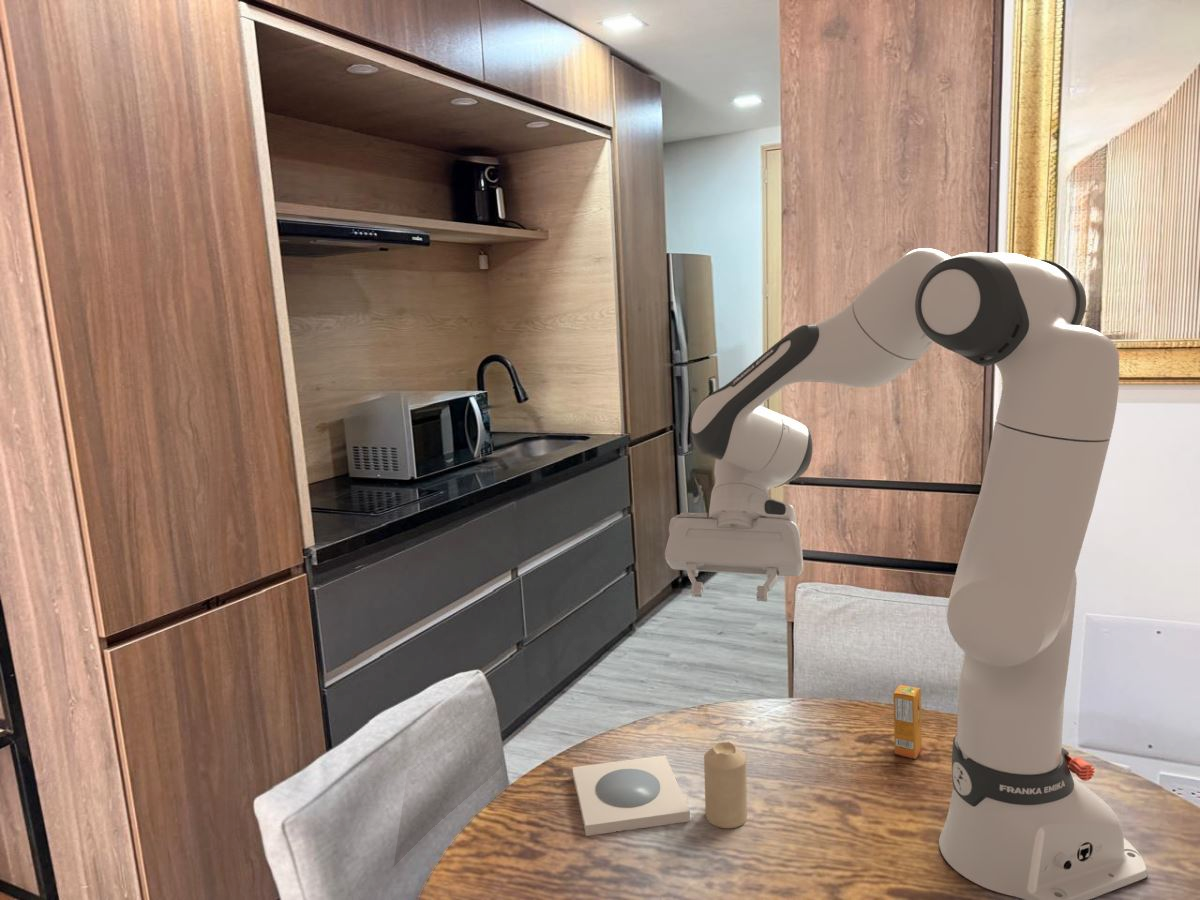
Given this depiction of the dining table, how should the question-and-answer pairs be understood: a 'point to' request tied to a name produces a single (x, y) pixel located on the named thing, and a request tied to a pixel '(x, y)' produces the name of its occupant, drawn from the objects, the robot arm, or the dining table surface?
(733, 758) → the candle
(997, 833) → the robot arm
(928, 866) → the dining table surface
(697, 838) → the dining table surface
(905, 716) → the supplement box
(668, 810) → the base board
